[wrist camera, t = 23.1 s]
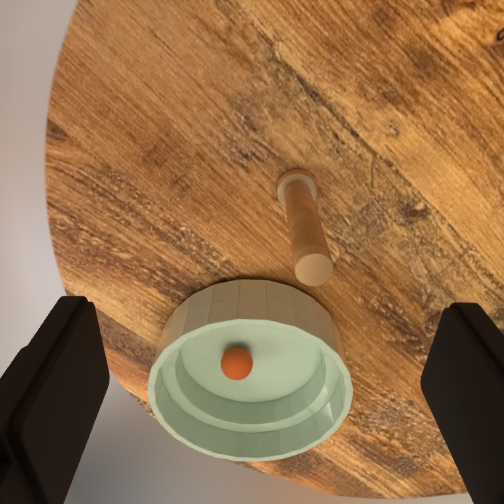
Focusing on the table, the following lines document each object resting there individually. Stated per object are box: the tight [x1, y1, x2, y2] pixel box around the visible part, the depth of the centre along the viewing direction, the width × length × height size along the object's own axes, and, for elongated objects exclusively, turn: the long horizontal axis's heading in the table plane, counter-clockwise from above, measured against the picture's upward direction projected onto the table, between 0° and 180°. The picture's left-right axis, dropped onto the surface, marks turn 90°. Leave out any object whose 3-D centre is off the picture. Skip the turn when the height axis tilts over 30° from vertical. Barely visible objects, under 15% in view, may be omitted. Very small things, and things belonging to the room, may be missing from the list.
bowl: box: [147, 279, 353, 462], centre depth 37 cm, size 17×17×6 cm
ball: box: [221, 347, 253, 380], centre depth 37 cm, size 3×3×3 cm
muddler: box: [277, 169, 334, 286], centre depth 26 cm, size 3×3×12 cm
